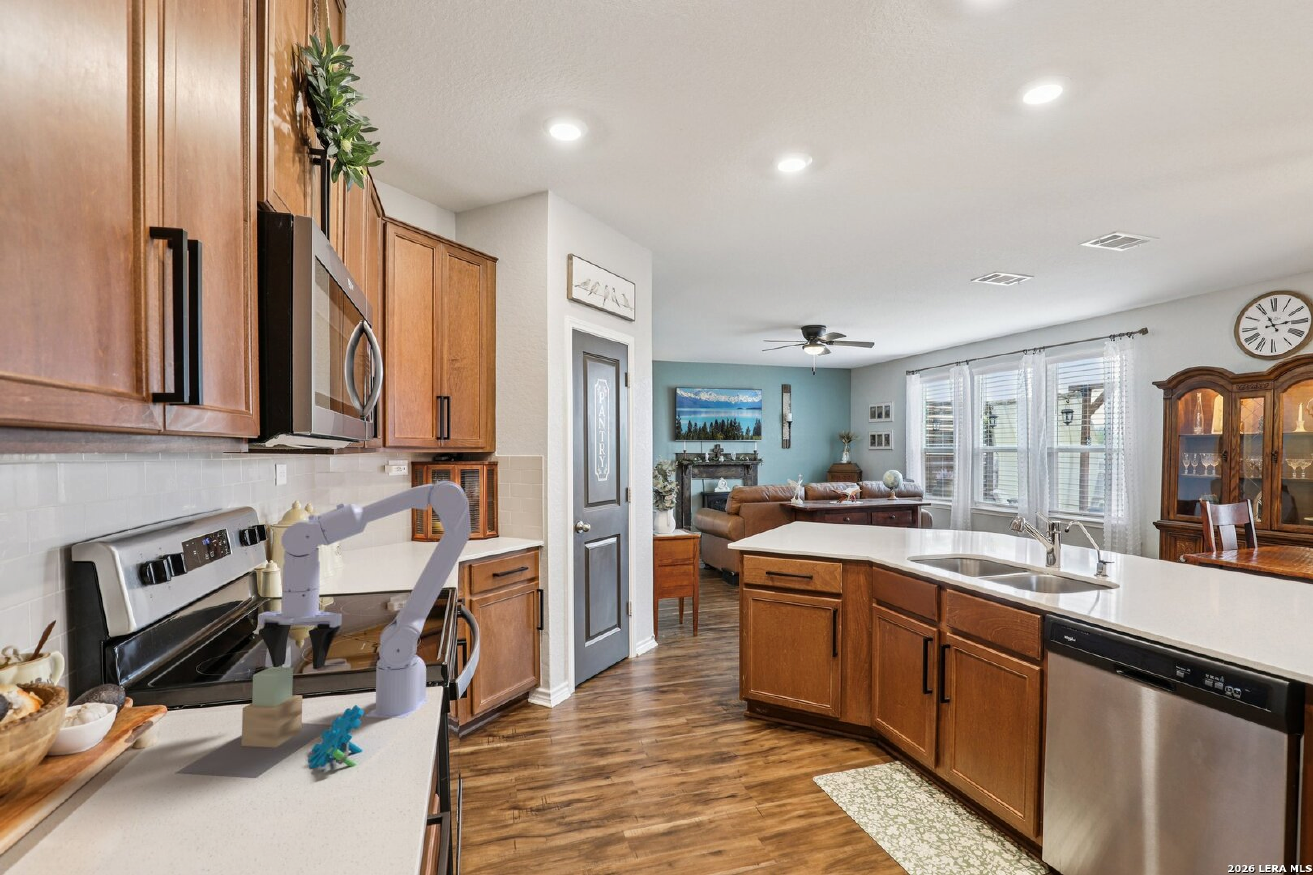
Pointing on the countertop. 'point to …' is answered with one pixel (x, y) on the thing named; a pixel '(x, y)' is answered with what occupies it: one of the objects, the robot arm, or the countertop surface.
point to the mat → (251, 755)
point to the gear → (338, 740)
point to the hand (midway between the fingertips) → (298, 666)
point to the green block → (272, 686)
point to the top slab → (272, 714)
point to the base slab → (271, 734)
